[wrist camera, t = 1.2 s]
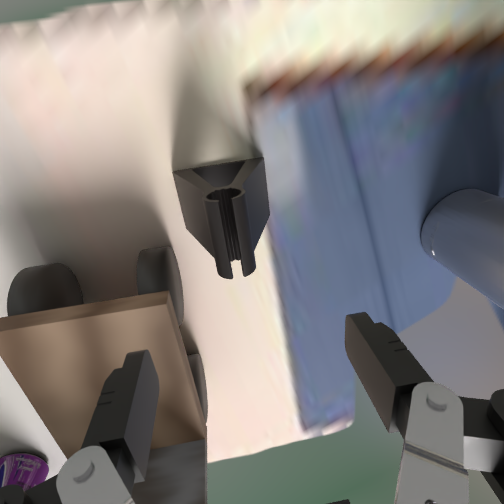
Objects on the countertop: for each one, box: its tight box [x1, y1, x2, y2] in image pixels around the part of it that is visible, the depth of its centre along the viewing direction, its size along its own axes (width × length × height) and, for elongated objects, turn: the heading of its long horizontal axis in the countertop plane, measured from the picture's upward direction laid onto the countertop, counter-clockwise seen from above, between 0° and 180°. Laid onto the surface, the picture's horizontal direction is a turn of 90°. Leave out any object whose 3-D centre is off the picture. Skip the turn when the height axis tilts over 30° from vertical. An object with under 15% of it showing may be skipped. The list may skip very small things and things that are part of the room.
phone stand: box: [173, 157, 270, 279], centre depth 27 cm, size 9×6×12 cm, turn 97°
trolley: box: [0, 246, 208, 504], centre depth 28 cm, size 14×23×22 cm, turn 6°
